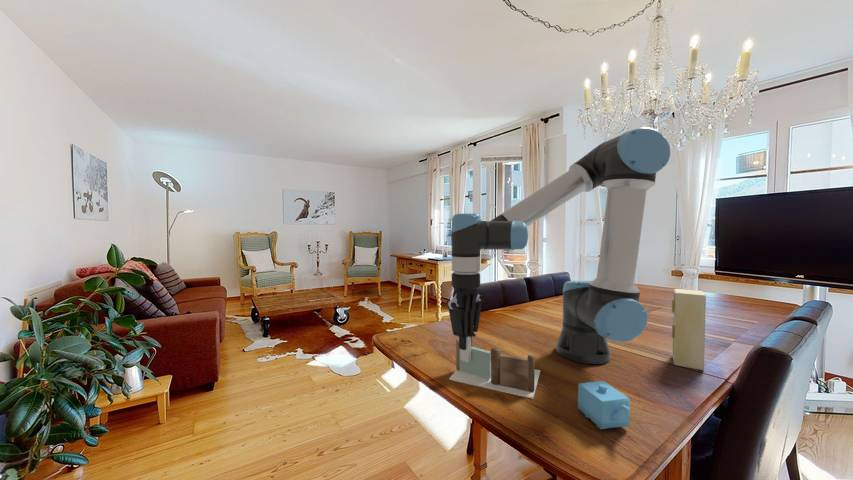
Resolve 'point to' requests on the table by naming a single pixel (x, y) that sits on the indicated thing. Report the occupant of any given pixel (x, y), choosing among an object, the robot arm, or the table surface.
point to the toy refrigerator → (688, 328)
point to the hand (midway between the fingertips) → (465, 360)
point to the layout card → (485, 383)
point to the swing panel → (475, 362)
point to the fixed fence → (512, 370)
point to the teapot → (603, 404)
